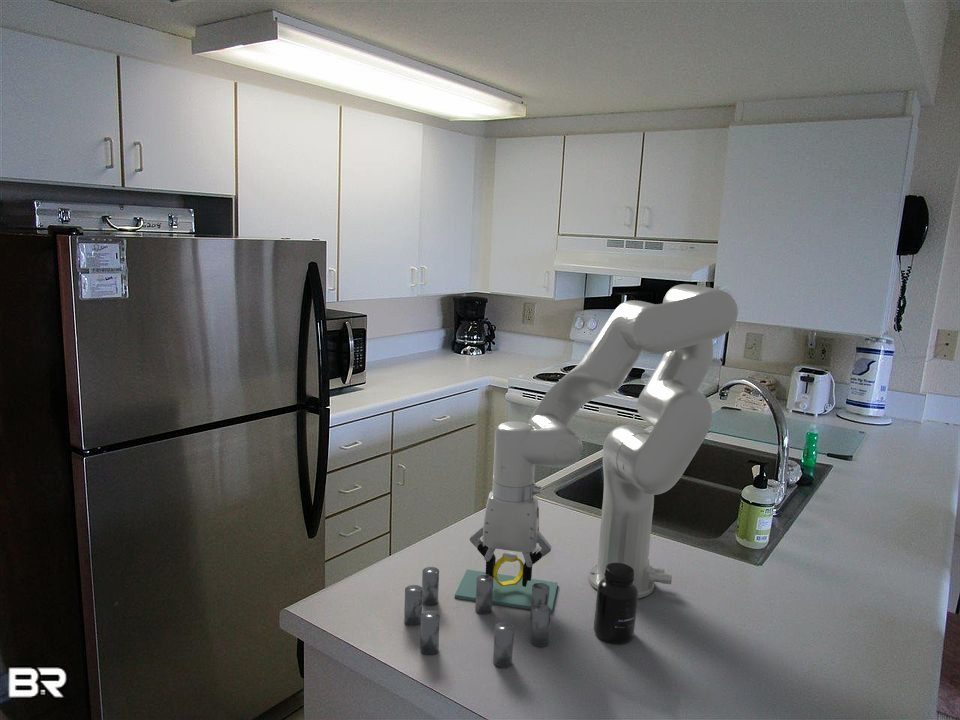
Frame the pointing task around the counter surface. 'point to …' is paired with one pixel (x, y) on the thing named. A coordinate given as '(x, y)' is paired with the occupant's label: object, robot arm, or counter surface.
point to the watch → (510, 558)
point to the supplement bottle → (616, 604)
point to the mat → (504, 590)
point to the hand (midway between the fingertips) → (508, 579)
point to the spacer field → (482, 606)
